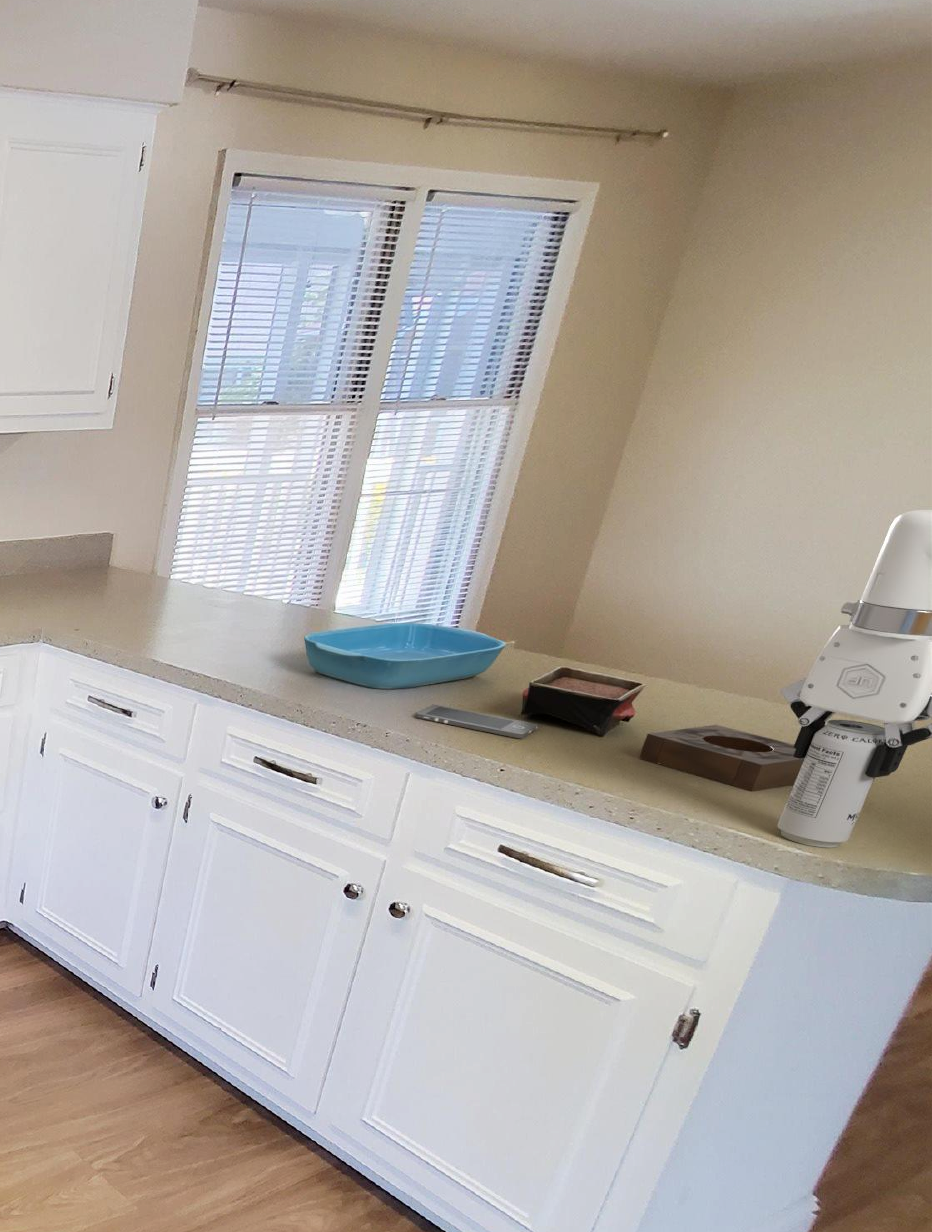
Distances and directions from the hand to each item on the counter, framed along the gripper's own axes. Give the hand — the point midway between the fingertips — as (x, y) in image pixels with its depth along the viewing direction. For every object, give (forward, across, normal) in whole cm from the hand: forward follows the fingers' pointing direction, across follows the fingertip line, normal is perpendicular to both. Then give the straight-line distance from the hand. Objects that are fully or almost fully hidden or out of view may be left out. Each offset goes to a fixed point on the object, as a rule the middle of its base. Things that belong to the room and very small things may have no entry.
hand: (840, 764), depth 124 cm
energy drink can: (+10, 0, 0) cm, 10 cm away
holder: (+10, -20, +19) cm, 29 cm away
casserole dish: (+10, -75, +20) cm, 78 cm away
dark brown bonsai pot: (+10, -43, +21) cm, 49 cm away
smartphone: (+10, -47, +5) cm, 48 cm away
